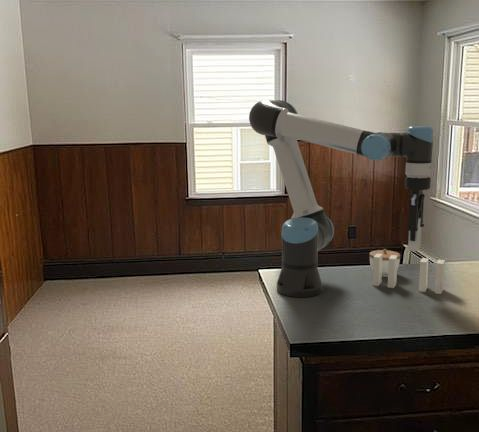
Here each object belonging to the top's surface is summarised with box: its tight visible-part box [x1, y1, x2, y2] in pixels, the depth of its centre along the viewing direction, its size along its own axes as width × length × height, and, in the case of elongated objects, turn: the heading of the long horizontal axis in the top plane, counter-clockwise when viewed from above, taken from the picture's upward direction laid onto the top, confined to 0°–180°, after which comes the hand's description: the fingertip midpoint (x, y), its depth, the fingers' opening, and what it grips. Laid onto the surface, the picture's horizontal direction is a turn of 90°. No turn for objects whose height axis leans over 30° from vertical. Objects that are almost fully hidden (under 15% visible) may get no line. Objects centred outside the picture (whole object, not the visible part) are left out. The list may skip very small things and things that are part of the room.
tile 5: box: [434, 259, 446, 295], centre depth 170 cm, size 2×5×10 cm, turn 154°
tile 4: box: [418, 257, 430, 293], centre depth 172 cm, size 2×5×10 cm, turn 154°
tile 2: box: [387, 255, 398, 289], centre depth 177 cm, size 2×5×10 cm, turn 154°
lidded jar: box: [369, 248, 401, 278], centre depth 189 cm, size 11×11×9 cm
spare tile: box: [414, 218, 421, 253], centre depth 167 cm, size 2×5×10 cm, turn 152°
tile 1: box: [372, 254, 383, 287], centre depth 179 cm, size 2×5×10 cm, turn 154°
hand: (414, 248), depth 168 cm, fingers closed on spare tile, 5 cm apart
